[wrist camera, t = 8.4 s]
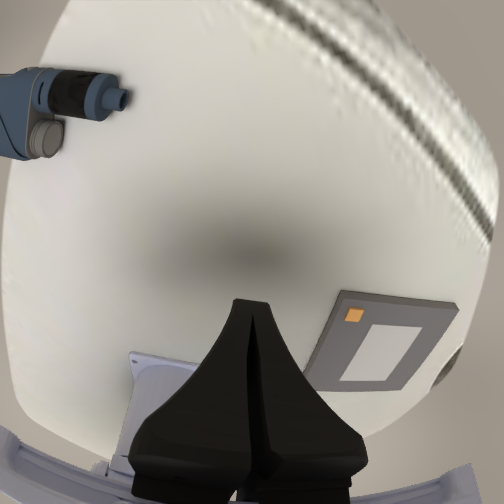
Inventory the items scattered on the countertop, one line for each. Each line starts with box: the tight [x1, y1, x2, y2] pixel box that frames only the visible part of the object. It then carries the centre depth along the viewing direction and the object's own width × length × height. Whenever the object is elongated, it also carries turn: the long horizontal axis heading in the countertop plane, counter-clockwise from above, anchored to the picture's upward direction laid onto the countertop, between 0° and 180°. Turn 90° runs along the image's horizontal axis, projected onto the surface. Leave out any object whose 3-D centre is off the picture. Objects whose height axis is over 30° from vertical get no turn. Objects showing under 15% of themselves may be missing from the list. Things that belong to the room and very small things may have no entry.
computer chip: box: [303, 290, 459, 392], centre depth 21 cm, size 10×10×1 cm
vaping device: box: [0, 67, 129, 161], centre depth 11 cm, size 3×5×12 cm
